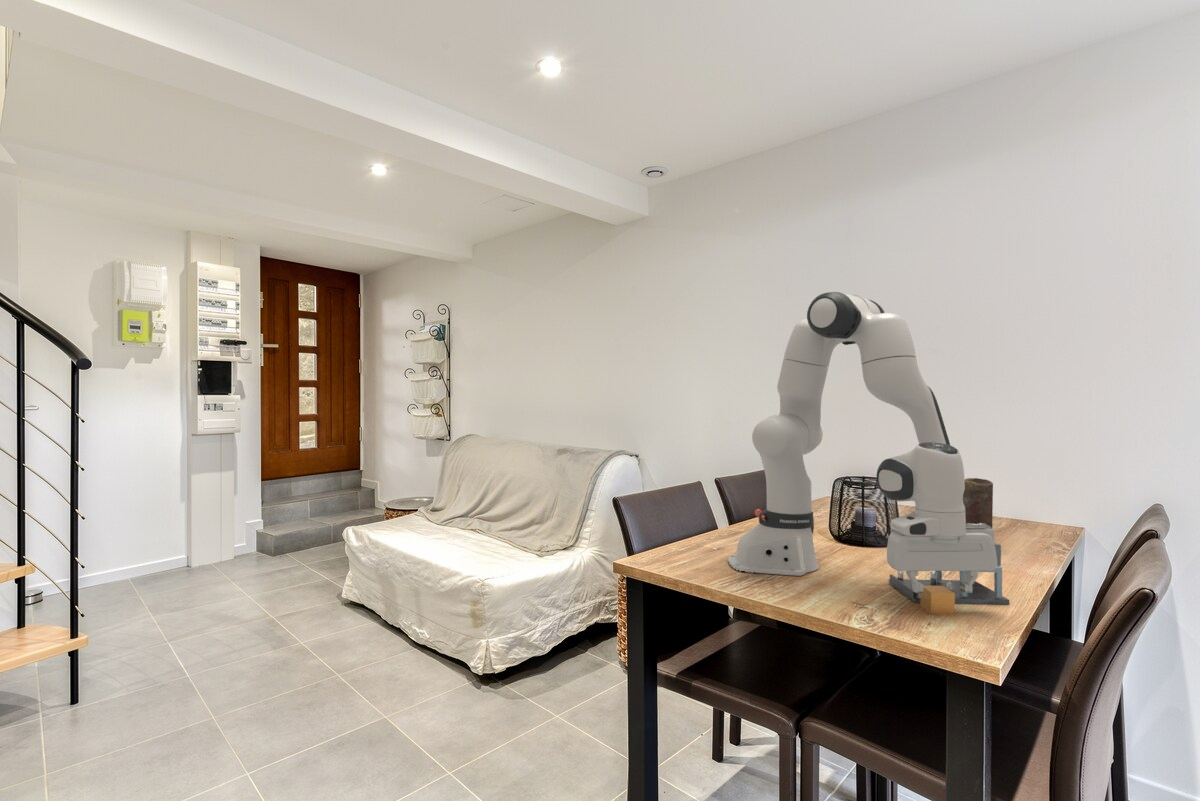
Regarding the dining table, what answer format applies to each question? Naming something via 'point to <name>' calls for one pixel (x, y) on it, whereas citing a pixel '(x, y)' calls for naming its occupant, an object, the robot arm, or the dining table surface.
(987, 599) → the base plate
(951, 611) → the brown block
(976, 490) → the dark brown cylinder
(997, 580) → the grey miniature chair
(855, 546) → the dining table surface
